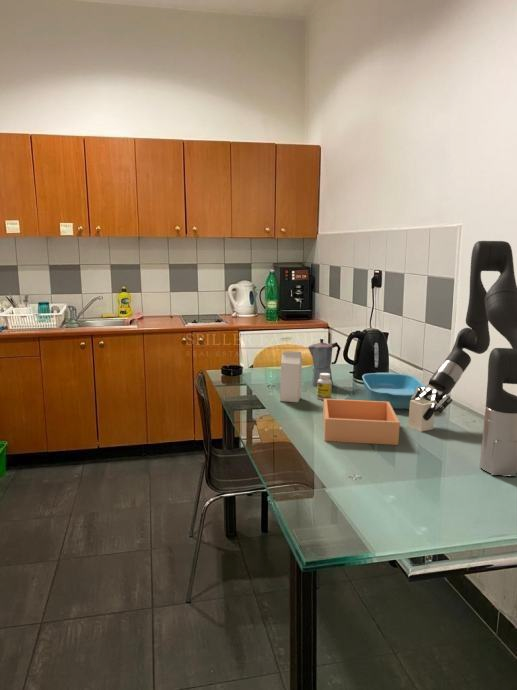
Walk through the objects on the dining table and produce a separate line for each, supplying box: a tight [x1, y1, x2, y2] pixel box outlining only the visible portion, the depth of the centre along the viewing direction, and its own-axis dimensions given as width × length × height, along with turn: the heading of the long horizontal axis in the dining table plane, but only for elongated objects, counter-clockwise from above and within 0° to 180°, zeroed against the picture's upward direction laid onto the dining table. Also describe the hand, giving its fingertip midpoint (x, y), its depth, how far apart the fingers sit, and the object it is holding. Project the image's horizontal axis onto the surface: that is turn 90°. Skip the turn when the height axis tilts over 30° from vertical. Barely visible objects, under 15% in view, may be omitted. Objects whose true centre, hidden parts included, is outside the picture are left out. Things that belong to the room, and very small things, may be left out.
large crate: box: [322, 398, 401, 446], centre depth 172 cm, size 22×22×7 cm
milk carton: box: [279, 350, 303, 403], centre depth 204 cm, size 7×7×19 cm
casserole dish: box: [361, 372, 426, 410], centre depth 209 cm, size 37×22×7 cm, turn 177°
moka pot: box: [307, 338, 341, 387], centre depth 227 cm, size 10×15×20 cm, turn 115°
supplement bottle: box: [316, 373, 333, 401], centre depth 208 cm, size 5×5×10 cm
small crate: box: [407, 399, 435, 433], centre depth 176 cm, size 6×6×9 cm
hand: (417, 416), depth 175 cm, fingers closed on small crate, 5 cm apart
